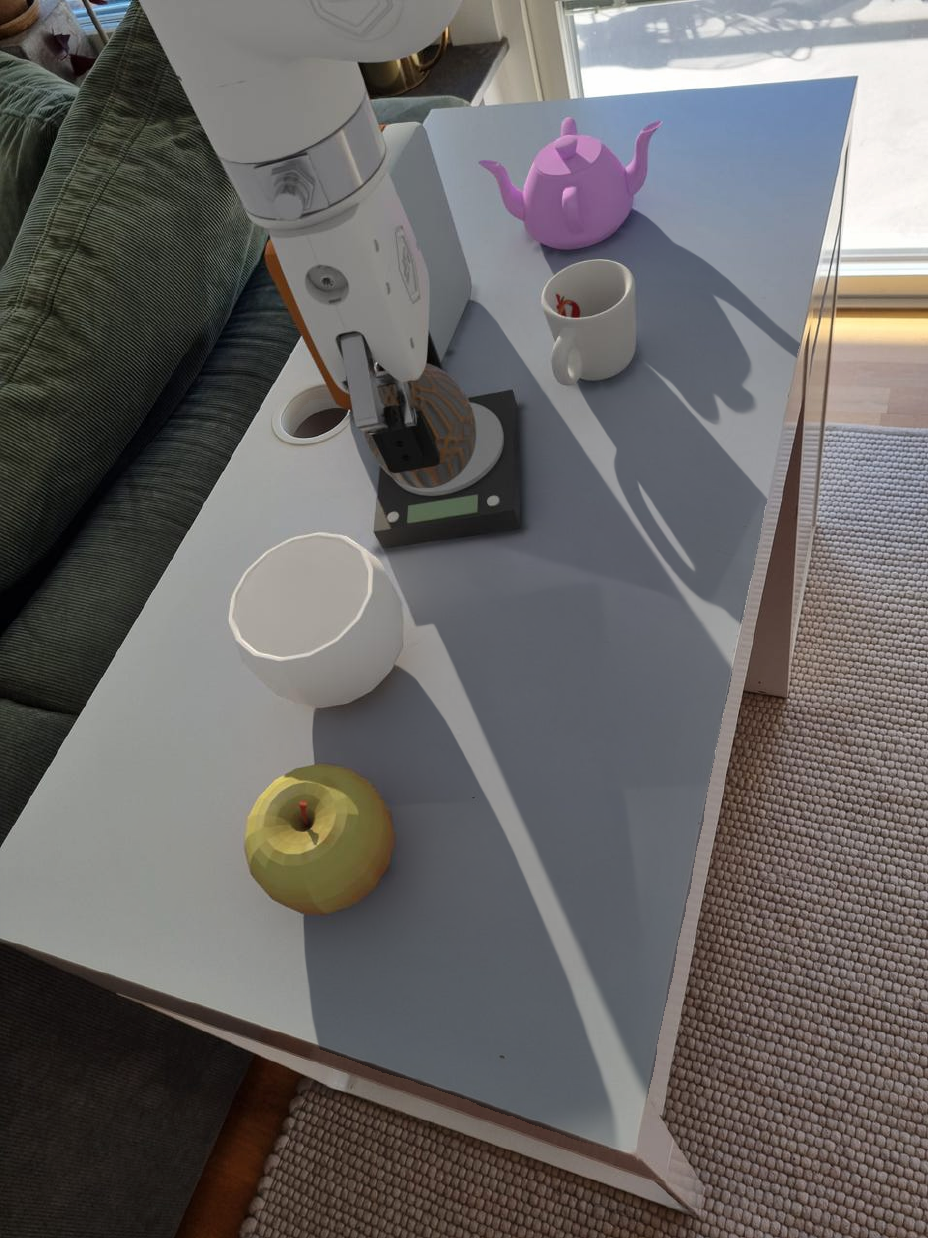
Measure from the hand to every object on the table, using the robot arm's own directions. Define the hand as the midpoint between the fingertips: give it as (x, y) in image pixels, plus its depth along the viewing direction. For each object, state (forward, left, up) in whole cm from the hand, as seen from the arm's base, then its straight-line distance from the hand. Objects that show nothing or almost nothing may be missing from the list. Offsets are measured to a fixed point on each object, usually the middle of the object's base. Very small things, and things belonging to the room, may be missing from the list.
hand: (417, 419), depth 58 cm
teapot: (-9, -47, -20) cm, 52 cm away
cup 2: (-9, -24, -20) cm, 32 cm away
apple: (+11, +20, -20) cm, 31 cm away
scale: (+4, -14, -20) cm, 24 cm away
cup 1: (+12, +4, -20) cm, 24 cm away
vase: (0, 0, -4) cm, 4 cm away
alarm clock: (+9, -32, -20) cm, 38 cm away
